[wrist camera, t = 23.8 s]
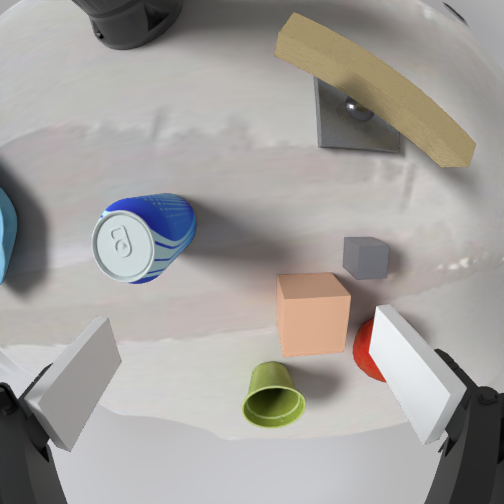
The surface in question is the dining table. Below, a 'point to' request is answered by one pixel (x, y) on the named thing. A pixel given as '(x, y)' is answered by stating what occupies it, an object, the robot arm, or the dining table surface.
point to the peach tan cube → (311, 314)
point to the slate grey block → (365, 257)
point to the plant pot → (272, 398)
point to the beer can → (142, 236)
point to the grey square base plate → (350, 123)
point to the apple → (366, 352)
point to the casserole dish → (6, 232)
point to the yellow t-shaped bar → (375, 88)
